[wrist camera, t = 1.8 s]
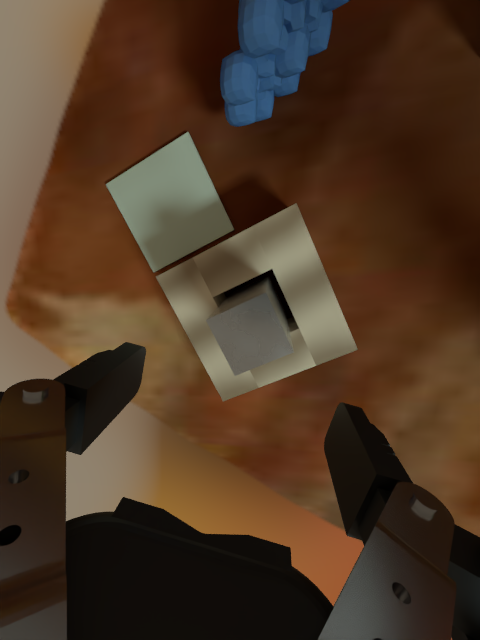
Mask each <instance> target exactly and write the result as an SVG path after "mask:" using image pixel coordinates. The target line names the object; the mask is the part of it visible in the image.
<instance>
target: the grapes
mask: <svg viewBox="0 0 480 640" xmlns="http://www.w3.org/2000/svg"><path fill="white" fill-rule="evenodd" d="M348 1H350V0H239V9H238V14H239V17H238V36H239V44H240V50H238V51H235V52H233V53H231V54H230V55H228V56H226V57H225V58H223V59H222V65H221V73H220V87H221V94H222V97H223V99H224V100H225V114H226V119H227V121H228V122H229V124H230V125H232V126H236V127H239V126H244V125H248V124H251V123H254V122H256V121H261V120H265V119H268V118H270V117H271V115H272V110H273V104H274V96H277V97H280V96H285V95H289V94H291V93H294V92H296V91H297V88H298V83H299V78H300V73H301V72H302V71H305V67H306V63H307V58H308V56H312V55H315V54H317V53H319V52H321V51H323V50H325V49H327V45H328V41H329V37H330V32H331V25H332V17H333V14H332V10H334V9H336V8H338V7H340V6H341V5H343V4H345V3H347V2H348Z"/></svg>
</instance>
